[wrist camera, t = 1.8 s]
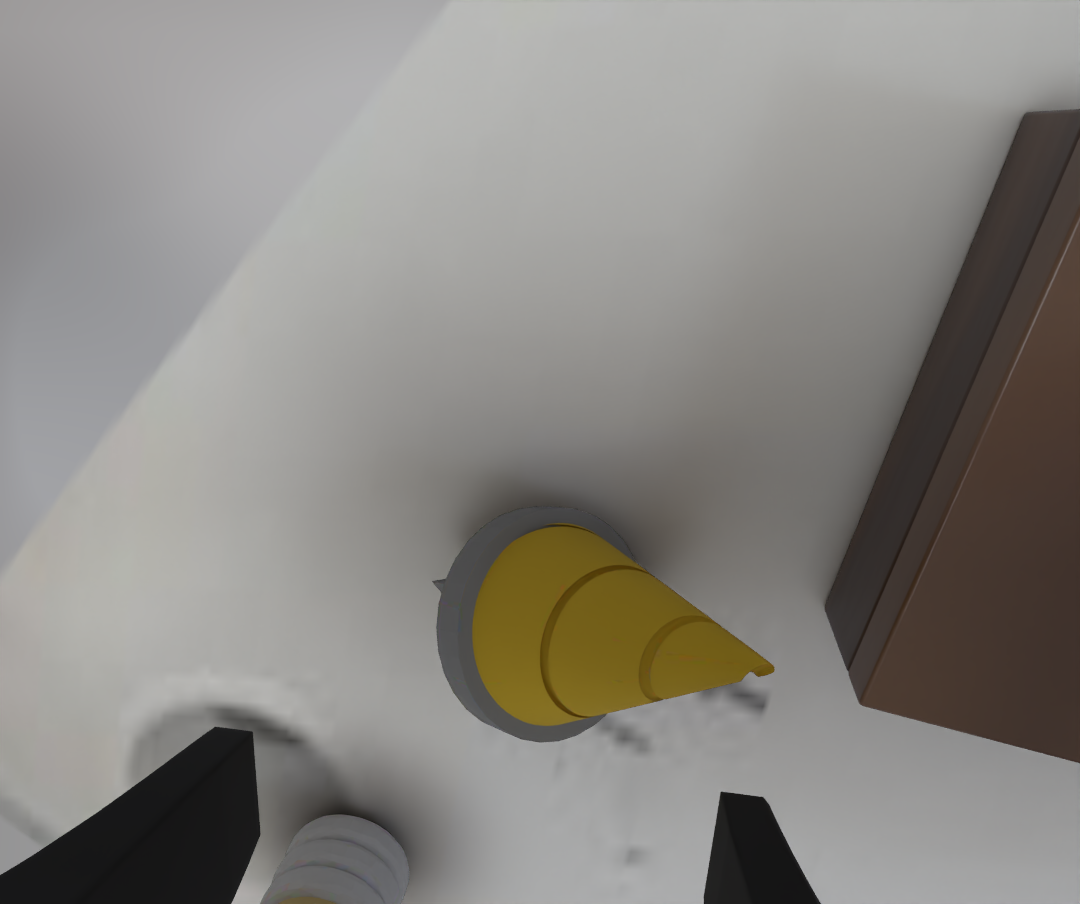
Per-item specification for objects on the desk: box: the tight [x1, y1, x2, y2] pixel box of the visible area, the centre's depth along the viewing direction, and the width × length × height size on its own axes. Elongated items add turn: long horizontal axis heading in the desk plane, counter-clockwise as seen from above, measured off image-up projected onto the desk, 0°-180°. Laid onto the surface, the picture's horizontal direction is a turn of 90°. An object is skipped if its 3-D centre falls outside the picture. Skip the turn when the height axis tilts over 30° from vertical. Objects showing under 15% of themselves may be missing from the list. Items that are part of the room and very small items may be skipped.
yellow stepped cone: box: [432, 507, 775, 742], centre depth 19 cm, size 5×5×10 cm
